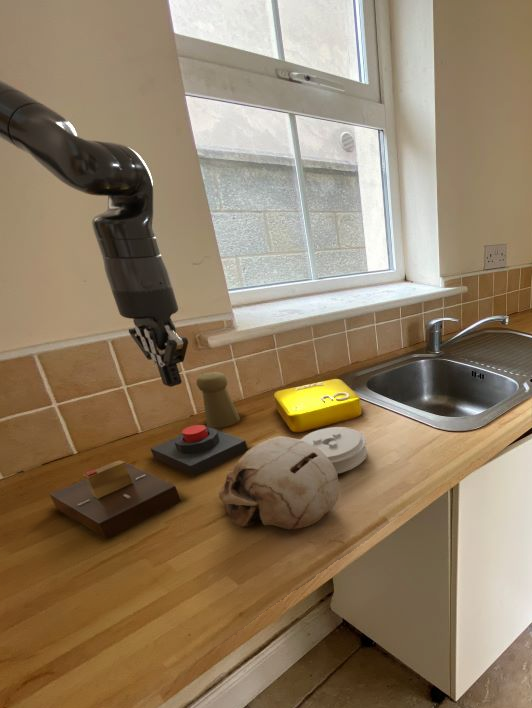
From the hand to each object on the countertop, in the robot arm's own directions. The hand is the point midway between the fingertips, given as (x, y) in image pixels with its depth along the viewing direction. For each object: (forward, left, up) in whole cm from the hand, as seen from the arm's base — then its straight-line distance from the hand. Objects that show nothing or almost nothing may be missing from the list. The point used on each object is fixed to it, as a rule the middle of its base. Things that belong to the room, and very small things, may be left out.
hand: (172, 384), depth 78 cm
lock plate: (+5, -14, -15) cm, 21 cm away
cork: (-8, +11, -15) cm, 20 cm away
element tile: (+6, +24, -15) cm, 28 cm away
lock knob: (+5, -14, -12) cm, 19 cm away
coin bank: (+28, -3, -15) cm, 32 cm away
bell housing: (+1, +1, -15) cm, 15 cm away
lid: (+24, +11, -15) cm, 30 cm away
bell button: (+1, +1, -11) cm, 11 cm away
